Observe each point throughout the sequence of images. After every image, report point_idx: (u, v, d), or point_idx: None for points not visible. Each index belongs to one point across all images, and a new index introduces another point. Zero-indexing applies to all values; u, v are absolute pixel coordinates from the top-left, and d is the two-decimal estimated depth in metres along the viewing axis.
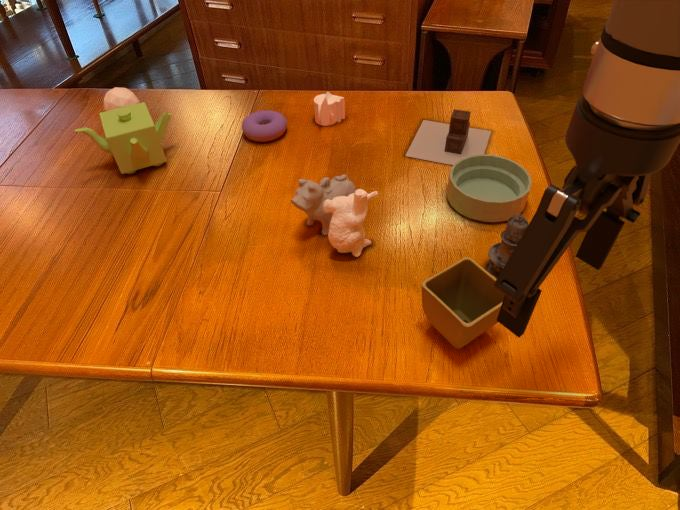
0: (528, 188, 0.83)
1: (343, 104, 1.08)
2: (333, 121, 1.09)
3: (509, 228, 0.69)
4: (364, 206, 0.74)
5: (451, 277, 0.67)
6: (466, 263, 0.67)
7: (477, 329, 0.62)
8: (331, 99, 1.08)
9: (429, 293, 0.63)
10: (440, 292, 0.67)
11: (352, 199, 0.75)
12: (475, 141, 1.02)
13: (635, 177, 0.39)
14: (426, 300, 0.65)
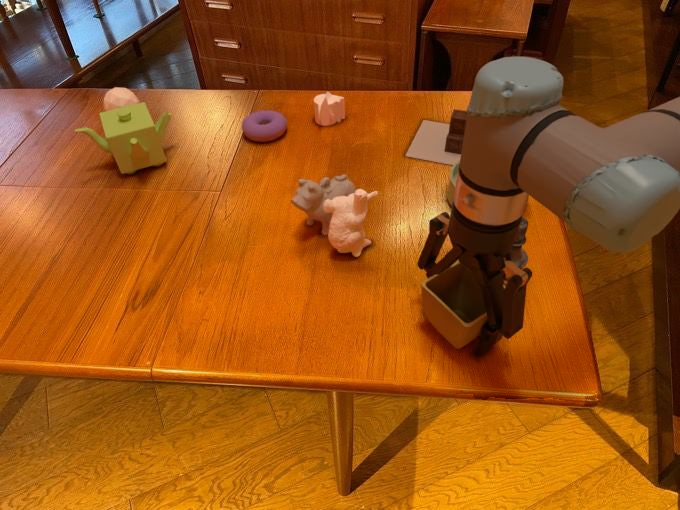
0: None
1: (343, 104, 1.08)
2: (333, 121, 1.09)
3: None
4: (364, 206, 0.74)
5: (451, 277, 0.67)
6: None
7: (477, 329, 0.62)
8: (331, 99, 1.08)
9: (429, 293, 0.63)
10: (440, 292, 0.67)
11: (352, 199, 0.75)
12: None
13: None
14: (426, 300, 0.64)
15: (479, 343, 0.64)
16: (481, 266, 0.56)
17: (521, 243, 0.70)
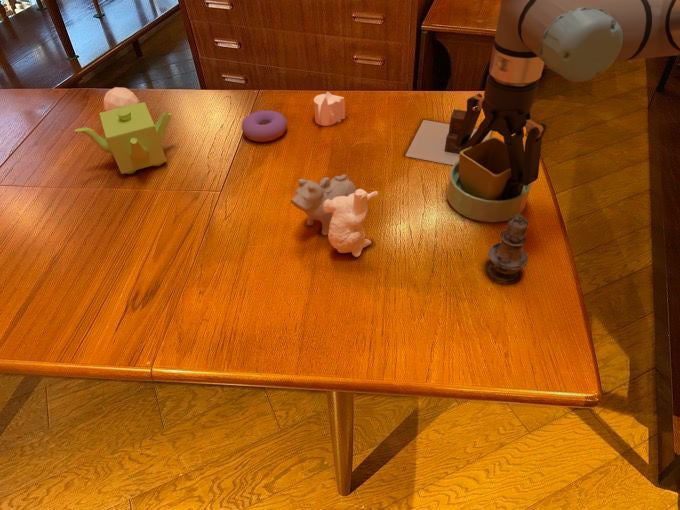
0: (528, 188, 0.83)
1: (343, 104, 1.08)
2: (333, 121, 1.09)
3: (509, 228, 0.69)
4: (364, 206, 0.74)
5: (481, 152, 0.86)
6: (493, 141, 0.86)
7: (503, 184, 0.81)
8: (331, 99, 1.08)
9: (465, 158, 0.82)
10: None
11: (352, 199, 0.75)
12: None
13: None
14: (463, 166, 0.84)
15: (503, 198, 0.83)
16: (508, 125, 0.75)
17: (521, 243, 0.70)
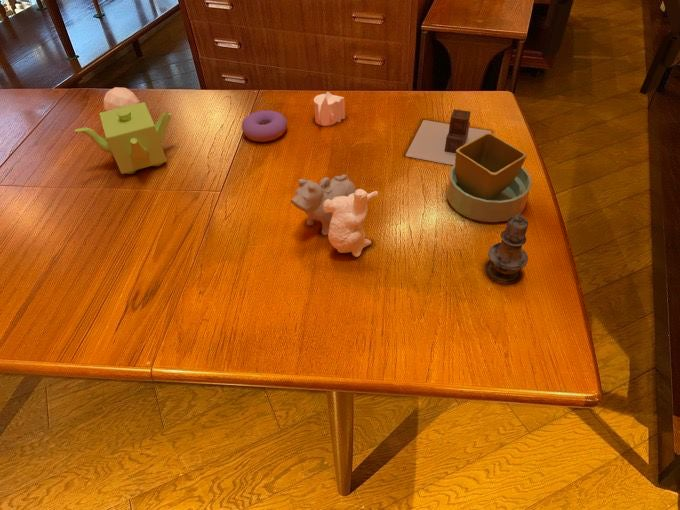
0: (528, 188, 0.83)
1: (343, 104, 1.08)
2: (333, 121, 1.09)
3: (509, 228, 0.69)
4: (364, 206, 0.74)
5: (476, 149, 0.87)
6: (487, 137, 0.87)
7: (499, 181, 0.82)
8: (331, 99, 1.08)
9: (462, 156, 0.82)
10: None
11: (352, 199, 0.75)
12: None
13: None
14: (459, 164, 0.84)
15: (650, 70, 0.55)
16: None
17: (521, 243, 0.70)
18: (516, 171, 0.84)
